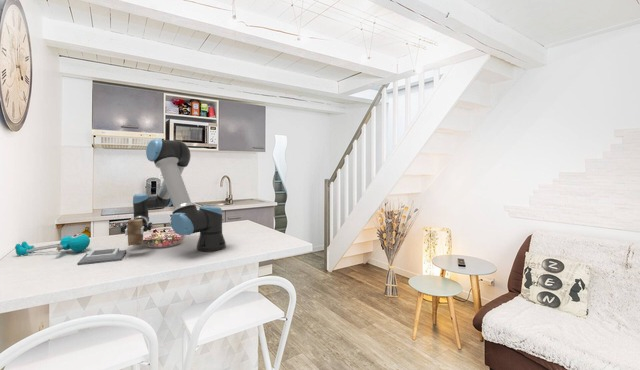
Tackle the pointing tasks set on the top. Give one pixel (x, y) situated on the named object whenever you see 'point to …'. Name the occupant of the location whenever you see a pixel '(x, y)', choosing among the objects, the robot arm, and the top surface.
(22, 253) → the toy
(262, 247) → the top surface
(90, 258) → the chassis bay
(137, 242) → the brown wooden block
